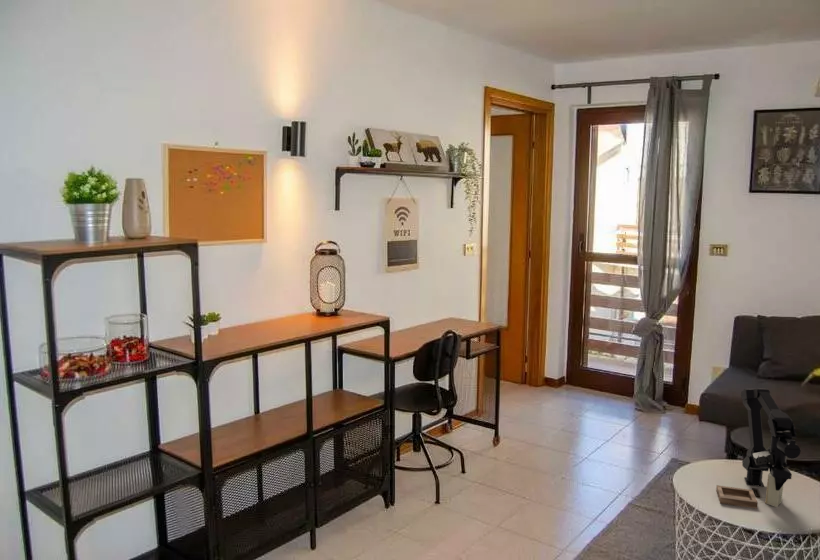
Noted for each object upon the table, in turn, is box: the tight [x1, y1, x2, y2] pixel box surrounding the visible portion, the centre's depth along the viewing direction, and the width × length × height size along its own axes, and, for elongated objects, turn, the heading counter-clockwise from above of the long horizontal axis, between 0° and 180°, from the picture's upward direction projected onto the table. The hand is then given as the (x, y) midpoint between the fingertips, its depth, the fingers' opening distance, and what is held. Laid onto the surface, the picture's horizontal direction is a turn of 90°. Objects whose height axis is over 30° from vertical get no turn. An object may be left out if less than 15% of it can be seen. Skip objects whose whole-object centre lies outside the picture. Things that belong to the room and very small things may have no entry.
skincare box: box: [765, 471, 784, 508], centre depth 254 cm, size 6×4×12 cm
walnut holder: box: [715, 484, 759, 509], centre depth 257 cm, size 11×13×2 cm
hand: (775, 486), depth 254 cm, fingers closed on skincare box, 7 cm apart
